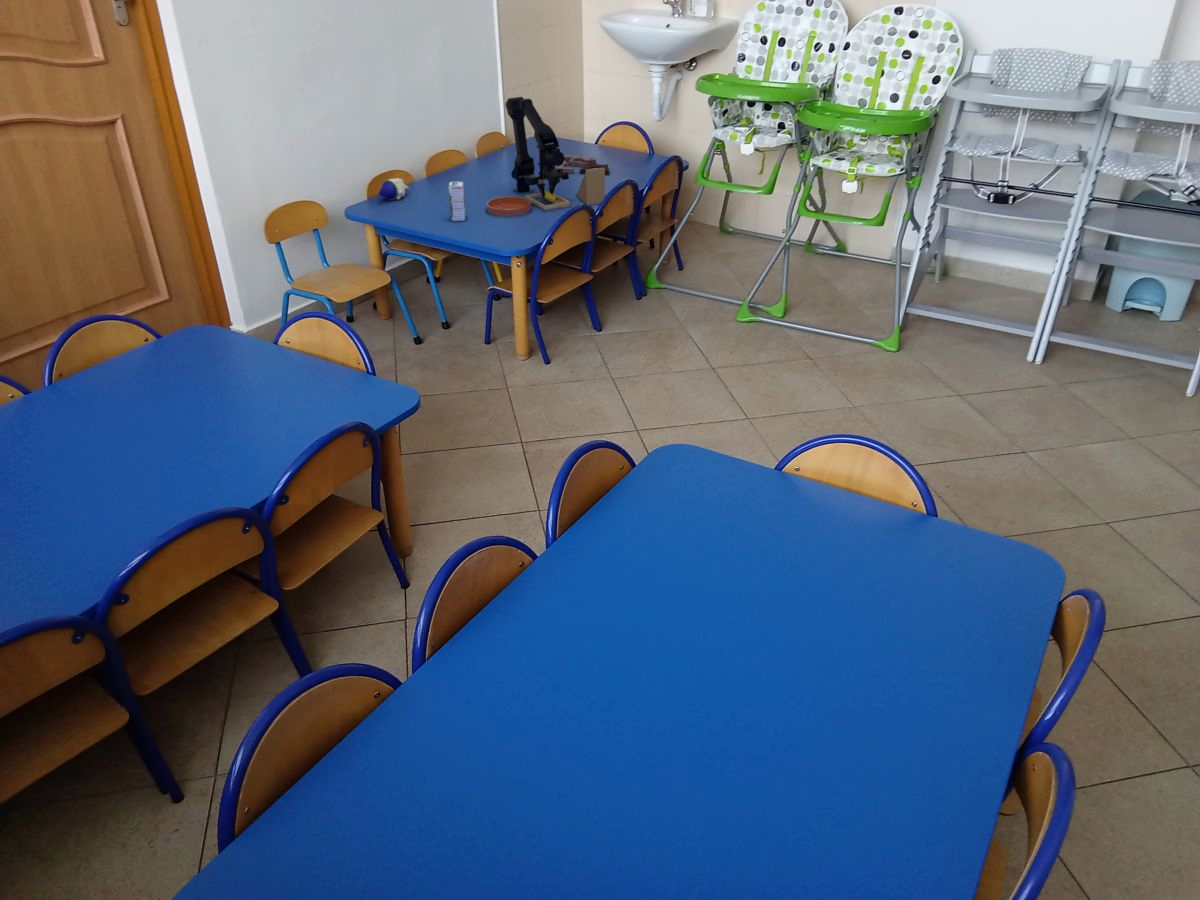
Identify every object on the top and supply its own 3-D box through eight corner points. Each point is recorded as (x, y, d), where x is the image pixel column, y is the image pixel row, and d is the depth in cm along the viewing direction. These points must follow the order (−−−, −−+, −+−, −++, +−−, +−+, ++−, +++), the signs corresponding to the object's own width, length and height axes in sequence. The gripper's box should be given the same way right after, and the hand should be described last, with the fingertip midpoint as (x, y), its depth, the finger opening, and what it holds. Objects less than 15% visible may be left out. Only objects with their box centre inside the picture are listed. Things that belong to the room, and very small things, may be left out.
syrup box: (451, 216, 369) (448, 181, 361) (466, 216, 369) (463, 181, 362) (451, 221, 364) (447, 185, 356) (465, 220, 365) (462, 185, 357)
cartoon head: (411, 199, 398) (384, 210, 383) (395, 185, 399) (367, 196, 383) (418, 183, 393) (391, 194, 377) (402, 170, 394) (374, 180, 378)
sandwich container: (594, 192, 397) (594, 158, 388) (605, 202, 384) (605, 167, 376) (576, 194, 394) (575, 160, 386) (586, 204, 382) (585, 169, 374)
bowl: (480, 208, 379) (479, 200, 377) (518, 201, 387) (518, 193, 385) (498, 220, 365) (498, 212, 364) (538, 212, 373) (538, 205, 372)
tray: (525, 200, 388) (525, 195, 387) (550, 195, 393) (550, 191, 392) (544, 211, 375) (544, 206, 374) (569, 206, 380) (569, 201, 379)
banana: (538, 196, 386) (537, 189, 385) (545, 195, 388) (544, 187, 386) (550, 203, 378) (550, 196, 376) (558, 202, 380) (557, 194, 378)
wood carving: (608, 175, 420) (616, 161, 439) (608, 170, 419) (616, 157, 438) (550, 172, 424) (560, 159, 444) (550, 167, 423) (560, 155, 442)
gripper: (535, 168, 364) (536, 206, 373) (574, 161, 372) (575, 198, 381) (522, 162, 372) (524, 199, 381) (561, 155, 380) (562, 192, 389)
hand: (547, 197), depth 383 cm, fingers closed on banana, 3 cm apart
